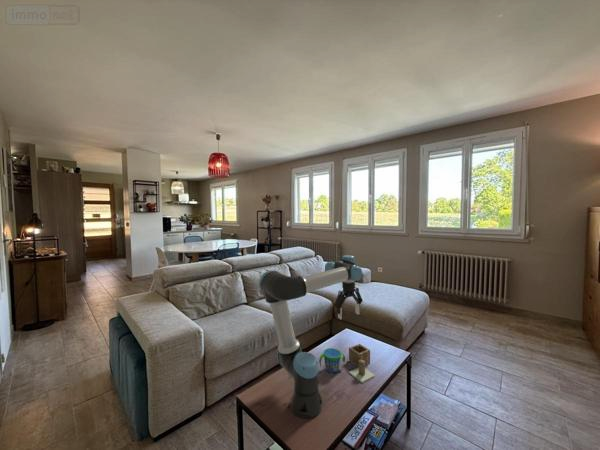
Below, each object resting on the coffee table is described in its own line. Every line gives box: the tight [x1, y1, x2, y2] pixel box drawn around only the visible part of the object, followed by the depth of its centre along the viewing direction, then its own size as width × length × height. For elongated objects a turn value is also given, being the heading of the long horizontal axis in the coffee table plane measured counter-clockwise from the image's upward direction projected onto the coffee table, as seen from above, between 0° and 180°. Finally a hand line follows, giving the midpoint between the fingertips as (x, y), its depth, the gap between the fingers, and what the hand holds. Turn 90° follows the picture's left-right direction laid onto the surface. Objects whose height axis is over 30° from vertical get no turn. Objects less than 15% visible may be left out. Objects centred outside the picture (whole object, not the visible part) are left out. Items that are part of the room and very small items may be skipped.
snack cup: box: [318, 347, 346, 374], centre depth 148 cm, size 16×10×10 cm
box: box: [348, 343, 371, 368], centre depth 155 cm, size 9×9×8 cm
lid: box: [348, 360, 376, 384], centre depth 143 cm, size 10×10×8 cm
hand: (348, 316), depth 151 cm, fingers open, 13 cm apart
